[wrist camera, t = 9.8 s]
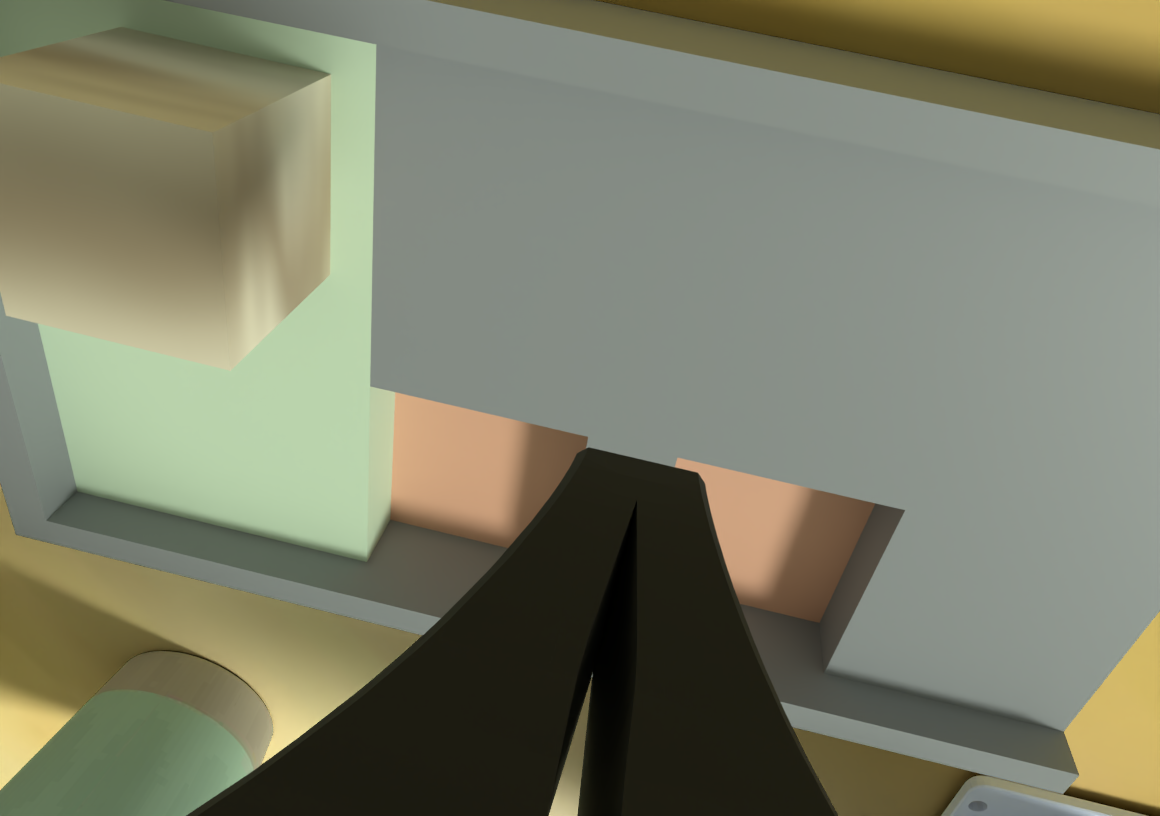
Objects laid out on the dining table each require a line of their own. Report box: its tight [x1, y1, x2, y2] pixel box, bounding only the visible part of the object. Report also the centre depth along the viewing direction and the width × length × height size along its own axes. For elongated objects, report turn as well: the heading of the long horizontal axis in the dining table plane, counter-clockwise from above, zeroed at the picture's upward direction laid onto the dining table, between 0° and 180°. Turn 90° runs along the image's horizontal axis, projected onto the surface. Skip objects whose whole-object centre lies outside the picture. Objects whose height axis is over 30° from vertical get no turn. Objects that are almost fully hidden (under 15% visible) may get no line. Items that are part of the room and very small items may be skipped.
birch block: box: [0, 27, 331, 371], centre depth 15 cm, size 4×4×4 cm
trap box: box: [0, 0, 1160, 794], centre depth 18 cm, size 15×27×3 cm, turn 81°
